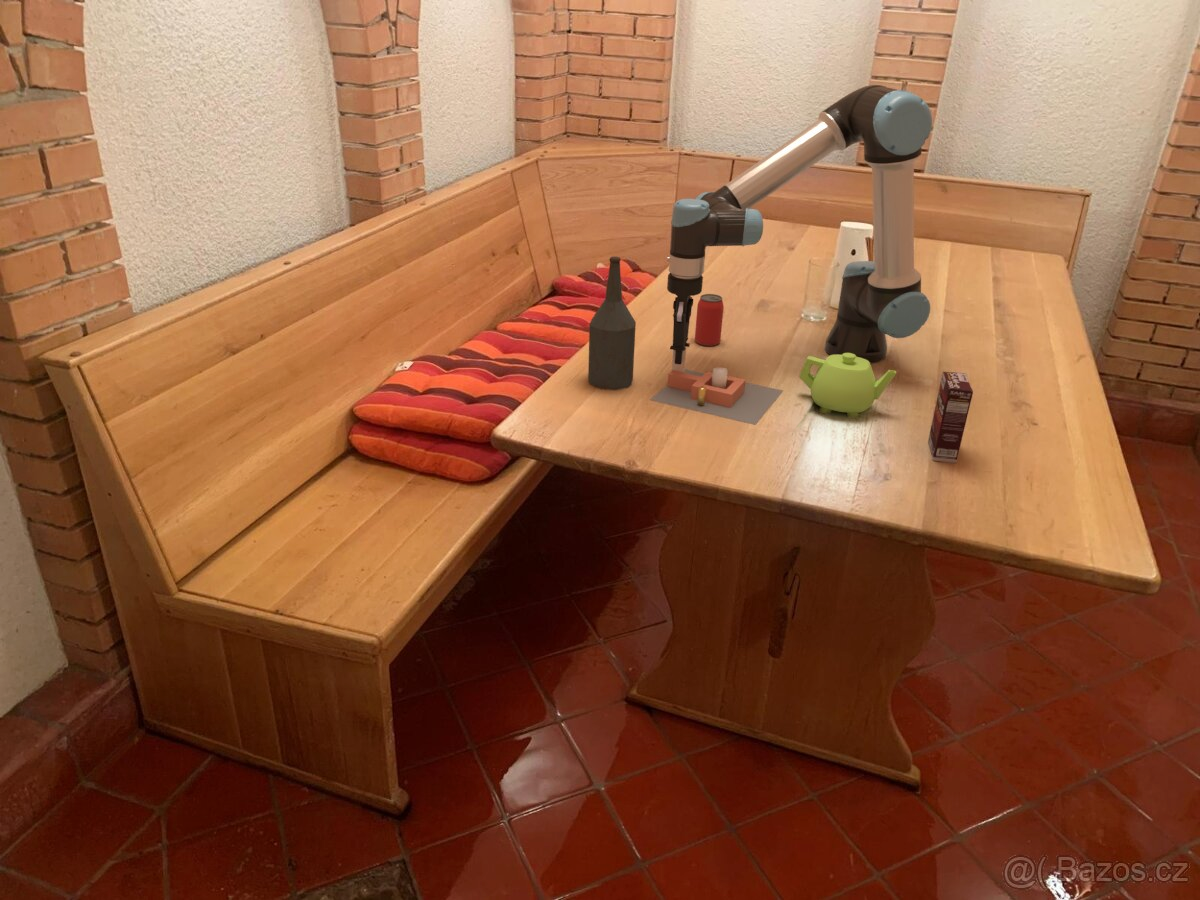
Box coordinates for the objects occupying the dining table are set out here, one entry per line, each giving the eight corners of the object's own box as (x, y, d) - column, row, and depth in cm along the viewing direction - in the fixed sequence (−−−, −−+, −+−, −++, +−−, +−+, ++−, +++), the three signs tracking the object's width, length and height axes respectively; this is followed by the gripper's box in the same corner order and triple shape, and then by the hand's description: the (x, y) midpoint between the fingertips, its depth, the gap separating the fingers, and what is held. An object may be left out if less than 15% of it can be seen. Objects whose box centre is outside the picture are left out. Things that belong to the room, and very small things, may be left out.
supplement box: (926, 441, 187) (942, 370, 180) (950, 444, 186) (967, 373, 179) (931, 461, 180) (948, 387, 172) (957, 464, 179) (975, 390, 171)
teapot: (889, 403, 203) (900, 350, 198) (885, 428, 192) (896, 373, 186) (800, 389, 209) (807, 337, 203) (791, 412, 198) (798, 358, 192)
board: (782, 396, 205) (786, 365, 201) (754, 431, 189) (758, 398, 185) (684, 374, 214) (686, 345, 211) (649, 406, 198) (651, 374, 195)
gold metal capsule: (705, 404, 196) (707, 387, 195) (703, 407, 195) (704, 390, 193) (698, 402, 197) (700, 385, 195) (696, 405, 196) (697, 388, 194)
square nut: (744, 392, 203) (745, 379, 201) (730, 407, 195) (731, 394, 194) (677, 377, 209) (678, 365, 208) (661, 391, 202) (662, 379, 200)
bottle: (600, 398, 201) (604, 266, 187) (580, 382, 209) (583, 253, 195) (640, 391, 205) (647, 260, 191) (619, 375, 213) (625, 249, 199)
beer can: (719, 348, 230) (723, 302, 225) (693, 345, 231) (696, 300, 226) (721, 338, 236) (725, 294, 230) (695, 336, 237) (699, 292, 231)
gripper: (672, 263, 201) (665, 362, 212) (663, 280, 190) (656, 384, 201) (706, 267, 200) (697, 366, 211) (699, 284, 189) (690, 388, 200)
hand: (677, 375), depth 206 cm, fingers closed
